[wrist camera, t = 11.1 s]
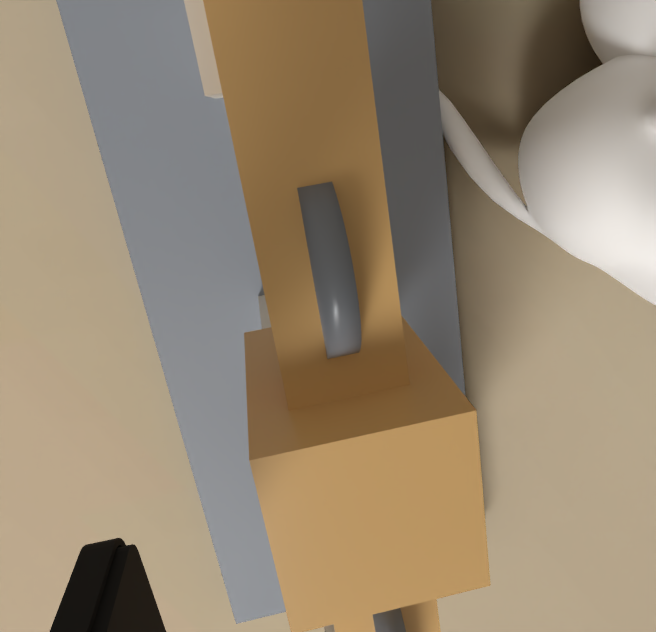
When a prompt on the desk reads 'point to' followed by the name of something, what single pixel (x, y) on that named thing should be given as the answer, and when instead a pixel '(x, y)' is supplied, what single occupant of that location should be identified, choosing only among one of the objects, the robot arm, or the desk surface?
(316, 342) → the tan bar with handles
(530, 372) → the desk surface
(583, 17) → the cat figurine
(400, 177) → the display stand
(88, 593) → the robot arm
